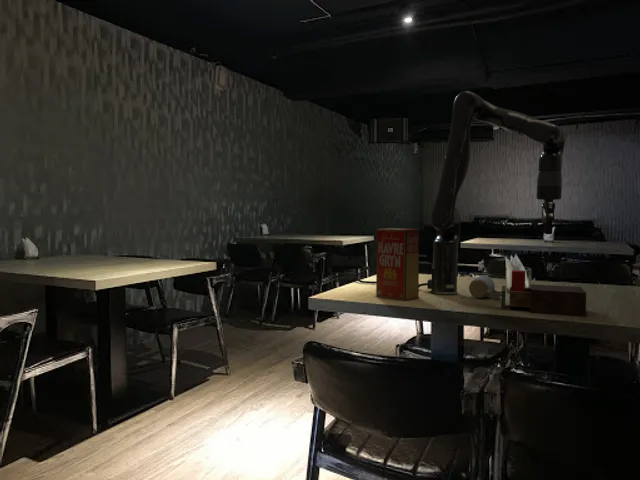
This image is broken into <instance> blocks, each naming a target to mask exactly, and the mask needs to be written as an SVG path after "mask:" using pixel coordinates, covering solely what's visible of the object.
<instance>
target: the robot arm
mask: <svg viewBox="0 0 640 480" xmlns="http://www.w3.org/2000/svg"><path fill="white" fill-rule="evenodd" d="M451 112H452V113H451V122H450V123H451V124H450V129H449V136H448V140H447V145H446V150H445V154H444V158H443V163H442V168H441V174H440V180H439V186H438V191H437V195H436V199H435V202H434V205H433V207H432V211H431V215H430V223H431V225H432V227H433V228H434V229H435V230H436V235H435V237H434V240H433V242H432V267H431V278H429V279H427V281H426V282H424V283H419V288H420V287H424V286H427V288H426V289H427V290H431V291H430V293H431V294H436V295H446V296H448V295H451V296H452V295H457V294H458V261H459V259H458V258H459V242H460V239H461V222H462V221H461V218H462V217H461V214H460V211H459V210H458V209H457V208H456V202H457V197H458V194H459V192H460V190H461V188H462V186H463V184H464V182H465V180H466V177H467V174H468V171H469V168H470V167H469V166H470V163H471V156H472V152H471V151H472V150H471V148H472V147H471V139H470V138H471V136H470V133H471V132H470V131H471V126H472V123H473V121H478V122H482V123H483V122H484V123H487V124H490V125H493V126H496V127H498V128H500V129H503V130H504V131H507V132H509V133H512V134H514V135H517V136H519V137H523V138H526V139H530V140H531V141H535V142H537V143H539V144H542V153H541V155H540V156H539V158H538V172H537V178H536V200H540V201H542V200H543V202H542V204H541V221H542V233H543V234H545V235H552V234H553V231H554V230H553V224H554V222H555V216H556V203H555V202H554V200H555V201H557V200H558V201H559V200H561V199H562V192H563V191H562V190H563V189H562V188H563V175H562V174H563V173H562V171H563V170H562V169H563V154H564V149H565V143H566V132H565V131H564V129H563V128H562V127H560V126H559V125H557V124H555V123H552V122H548V121H546V120H543V119H542V120H541V119H537V118H535V117H533V116H531V115H528V114H524V113H522V112H519V111H515V110H511V109H508V108H507V109H506V108H503V107H499V106H497V105H494V104H492V103H490V102H488V101H487V100H486V99H483V98H482V97H481V96H480V95H478V94H476V93H475V92H473V91H470V90H463V91H461V92H460V93H459V94H457V96H456V97H455V99H454V101H453V105H452V111H451ZM356 281H357V282H358V283H361V284H370V285H371V284H372V285H375V284H376V280H375V281H372V280H371V281H370V280H361V279H360V278H359V277H354V278H353V279H352V281H351V282H356Z"/></svg>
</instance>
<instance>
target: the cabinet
mask: <svg viewBox="0 0 640 480" xmlns="http://www.w3.org/2000/svg"><path fill="white" fill-rule="evenodd" d="M529 288H530V289H531V308H529V310H530V313H535V314H550V315H563V316H575V317H577V316H579V317H586V316H587V292H586V291H585V289H583V288H582V287H581V286H572V285H571V286H570V285H569V286H568V285H553V284H552V285H549V284H535V283H534V284H532V283H530V284H529Z"/></svg>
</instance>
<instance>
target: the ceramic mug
mask: <svg viewBox="0 0 640 480" xmlns="http://www.w3.org/2000/svg"><path fill="white" fill-rule="evenodd" d="M468 285H469V286H468V290H469V293H470V295H471V296H472V297H474V298H475V299H485V298H486V297H487V296H486V291H487V290H490V291H497V290H496V289H495V288H496V285H495V282H494V280H493V279H492V278H491V277H490V276H488V275H483V274H482V275H479V276H477V277H476V278H474V279H473V280H472V281H471V282H470V283H469V284H468ZM492 294H500V293H492ZM488 298H491V299H493V300H500V299H501V296H491V295H490V296H489V297H488Z"/></svg>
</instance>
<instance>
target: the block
mask: <svg viewBox="0 0 640 480" xmlns="http://www.w3.org/2000/svg"><path fill="white" fill-rule="evenodd" d="M510 285H511V286H510V287H511V291H519V292H525V288H526V270H518V269H517V270H514V269H513V270H511V284H510Z"/></svg>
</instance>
